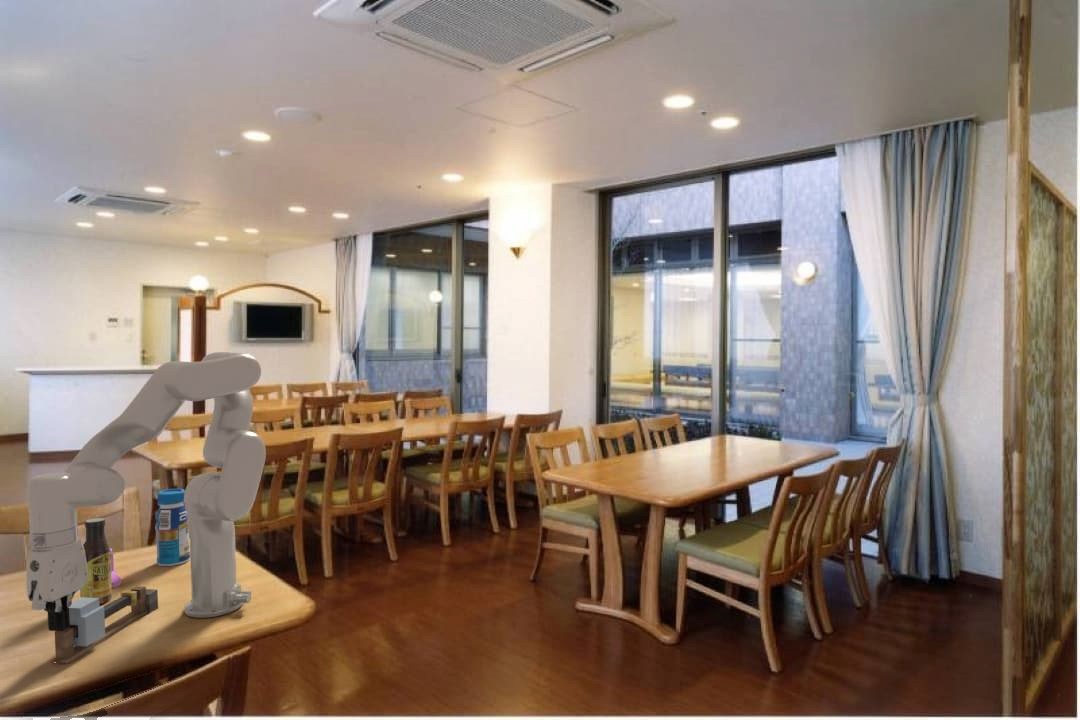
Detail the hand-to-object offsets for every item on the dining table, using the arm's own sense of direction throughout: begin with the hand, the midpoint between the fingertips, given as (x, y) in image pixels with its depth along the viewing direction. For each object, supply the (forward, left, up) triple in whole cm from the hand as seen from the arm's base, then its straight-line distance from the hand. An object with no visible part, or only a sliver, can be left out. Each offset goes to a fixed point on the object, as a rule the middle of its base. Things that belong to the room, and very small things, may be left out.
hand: (59, 628), depth 132 cm
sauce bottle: (+15, -28, -7) cm, 32 cm away
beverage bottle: (+14, -55, -7) cm, 57 cm away
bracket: (+23, -40, -7) cm, 47 cm away
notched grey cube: (0, -6, -5) cm, 8 cm away
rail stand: (0, -13, -7) cm, 15 cm away
